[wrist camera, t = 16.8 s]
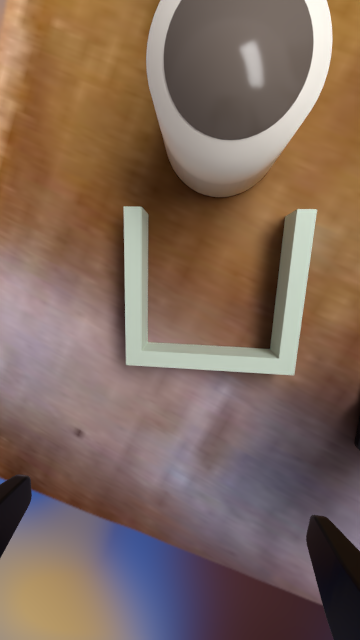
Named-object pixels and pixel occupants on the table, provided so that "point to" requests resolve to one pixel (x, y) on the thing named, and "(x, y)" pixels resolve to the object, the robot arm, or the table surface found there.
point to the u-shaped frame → (219, 357)
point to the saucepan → (234, 84)
